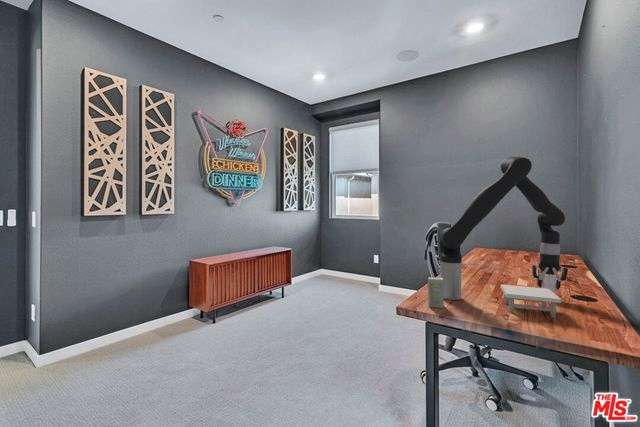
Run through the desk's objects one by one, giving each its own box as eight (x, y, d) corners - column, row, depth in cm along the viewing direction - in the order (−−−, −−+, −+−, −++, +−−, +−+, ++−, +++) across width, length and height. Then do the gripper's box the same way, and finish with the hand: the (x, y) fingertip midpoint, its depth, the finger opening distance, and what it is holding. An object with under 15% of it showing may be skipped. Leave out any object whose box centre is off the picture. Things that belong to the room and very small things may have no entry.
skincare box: (443, 305, 133) (444, 277, 133) (443, 308, 129) (443, 280, 129) (428, 303, 136) (428, 276, 135) (427, 306, 132) (427, 278, 131)
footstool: (506, 313, 124) (506, 293, 123) (500, 301, 138) (500, 284, 138) (560, 319, 116) (561, 299, 116) (548, 307, 131) (548, 288, 131)
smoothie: (542, 297, 142) (543, 267, 141) (538, 293, 148) (539, 265, 147) (559, 299, 139) (560, 269, 139) (554, 295, 145) (555, 266, 145)
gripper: (533, 252, 142) (532, 288, 143) (571, 255, 137) (570, 292, 137) (529, 250, 149) (528, 284, 150) (565, 252, 144) (564, 287, 144)
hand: (548, 287), depth 143 cm, fingers closed on smoothie, 6 cm apart
